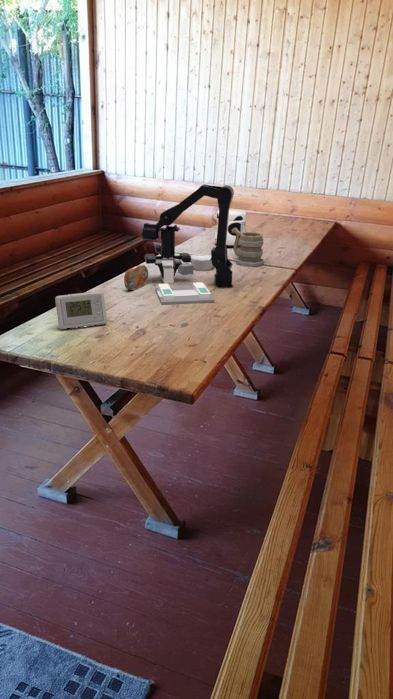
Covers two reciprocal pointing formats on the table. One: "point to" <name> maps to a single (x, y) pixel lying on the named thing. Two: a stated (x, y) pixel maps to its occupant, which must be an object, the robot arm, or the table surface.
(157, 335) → the table surface
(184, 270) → the loose block
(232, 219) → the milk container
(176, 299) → the rail board
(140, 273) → the tin
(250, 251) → the tankard
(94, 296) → the digital clock
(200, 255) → the ramekin
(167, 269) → the block
